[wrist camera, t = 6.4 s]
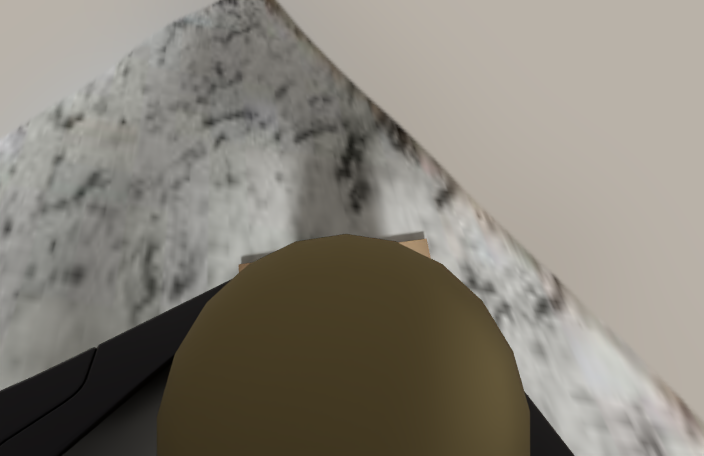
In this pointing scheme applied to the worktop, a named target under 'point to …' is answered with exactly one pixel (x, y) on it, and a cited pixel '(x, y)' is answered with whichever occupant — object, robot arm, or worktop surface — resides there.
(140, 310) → the worktop surface
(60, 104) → the worktop surface
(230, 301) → the cork
